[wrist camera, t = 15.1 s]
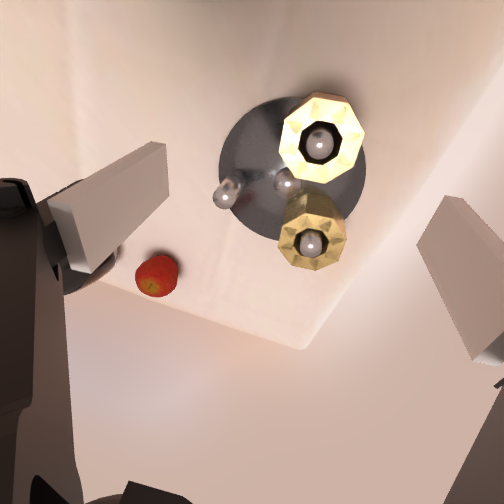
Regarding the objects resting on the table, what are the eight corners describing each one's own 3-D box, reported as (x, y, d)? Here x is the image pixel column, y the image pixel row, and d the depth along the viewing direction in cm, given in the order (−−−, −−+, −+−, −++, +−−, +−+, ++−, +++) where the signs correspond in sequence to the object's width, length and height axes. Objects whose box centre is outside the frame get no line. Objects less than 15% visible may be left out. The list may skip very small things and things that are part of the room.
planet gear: (279, 238, 49) (274, 261, 43) (290, 189, 44) (286, 209, 38) (331, 249, 48) (332, 274, 43) (348, 201, 43) (353, 222, 37)
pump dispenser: (70, 237, 60) (5, 283, 47) (92, 210, 55) (26, 254, 42) (109, 269, 63) (58, 321, 51) (134, 247, 58) (84, 298, 45)
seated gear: (280, 158, 42) (274, 173, 36) (294, 87, 36) (289, 93, 31) (342, 169, 41) (346, 187, 35) (364, 100, 36) (373, 107, 30)
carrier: (216, 224, 51) (199, 251, 44) (225, 84, 38) (204, 90, 31) (338, 251, 49) (341, 283, 42) (390, 113, 37) (408, 126, 29)
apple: (191, 273, 59) (176, 299, 53) (163, 282, 62) (145, 308, 56) (170, 244, 56) (151, 267, 49) (141, 255, 59) (120, 279, 52)
